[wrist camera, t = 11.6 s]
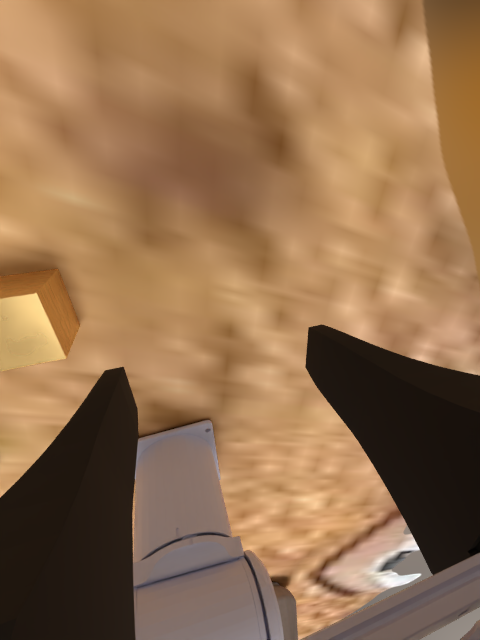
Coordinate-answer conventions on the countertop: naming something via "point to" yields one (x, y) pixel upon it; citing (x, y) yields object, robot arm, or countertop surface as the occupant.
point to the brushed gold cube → (35, 319)
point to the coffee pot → (287, 611)
